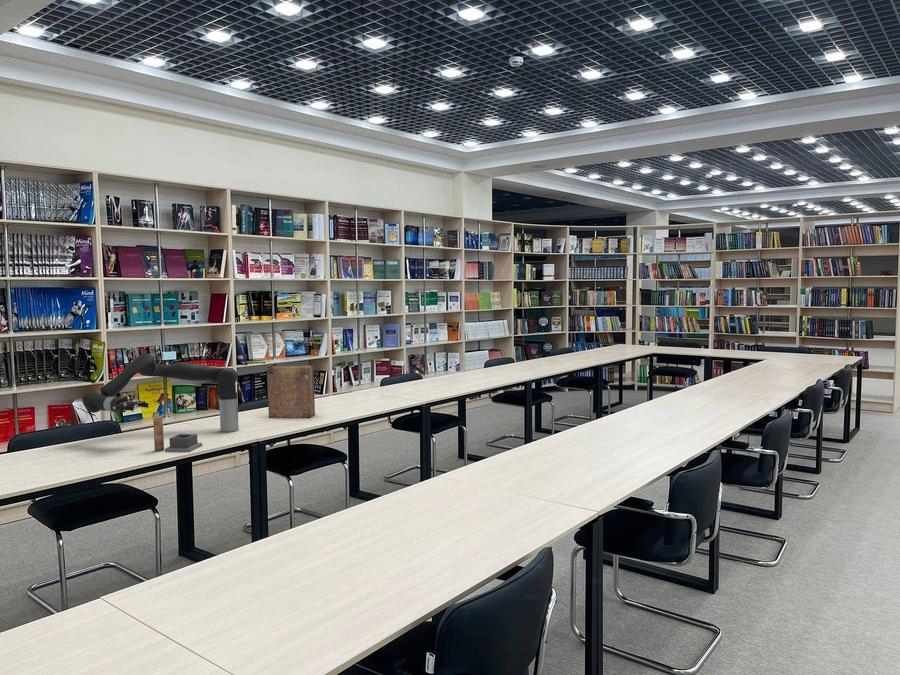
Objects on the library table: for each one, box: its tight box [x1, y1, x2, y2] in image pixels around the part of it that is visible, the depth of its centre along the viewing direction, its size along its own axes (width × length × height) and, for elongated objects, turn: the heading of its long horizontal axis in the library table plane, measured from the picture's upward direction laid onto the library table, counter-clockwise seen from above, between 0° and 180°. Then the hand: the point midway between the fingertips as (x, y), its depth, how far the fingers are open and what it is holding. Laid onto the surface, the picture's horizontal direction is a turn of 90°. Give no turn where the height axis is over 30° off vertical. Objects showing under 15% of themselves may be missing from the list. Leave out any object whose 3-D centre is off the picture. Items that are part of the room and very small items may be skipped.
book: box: [266, 364, 316, 419], centre depth 377 cm, size 25×9×30 cm, turn 82°
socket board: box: [164, 433, 203, 453], centre depth 303 cm, size 12×12×6 cm
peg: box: [152, 415, 165, 453], centre depth 299 cm, size 4×4×16 cm
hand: (140, 406), depth 303 cm, fingers open, 8 cm apart
